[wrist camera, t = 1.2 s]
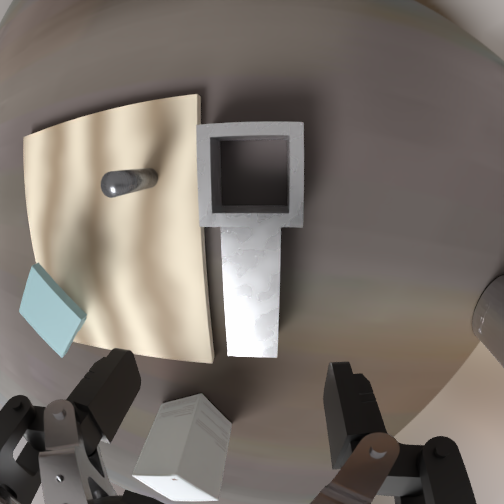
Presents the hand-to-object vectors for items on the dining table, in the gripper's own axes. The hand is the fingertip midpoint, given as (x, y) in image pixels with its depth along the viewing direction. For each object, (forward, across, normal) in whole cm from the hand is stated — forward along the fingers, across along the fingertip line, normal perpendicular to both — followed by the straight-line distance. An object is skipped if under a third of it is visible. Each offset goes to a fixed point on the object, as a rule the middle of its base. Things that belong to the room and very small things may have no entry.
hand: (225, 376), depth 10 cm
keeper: (+16, +20, +4) cm, 26 cm away
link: (+16, 0, -1) cm, 16 cm away
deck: (+16, +16, -1) cm, 22 cm away
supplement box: (+16, +8, +23) cm, 29 cm away
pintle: (+16, +9, -7) cm, 19 cm away
